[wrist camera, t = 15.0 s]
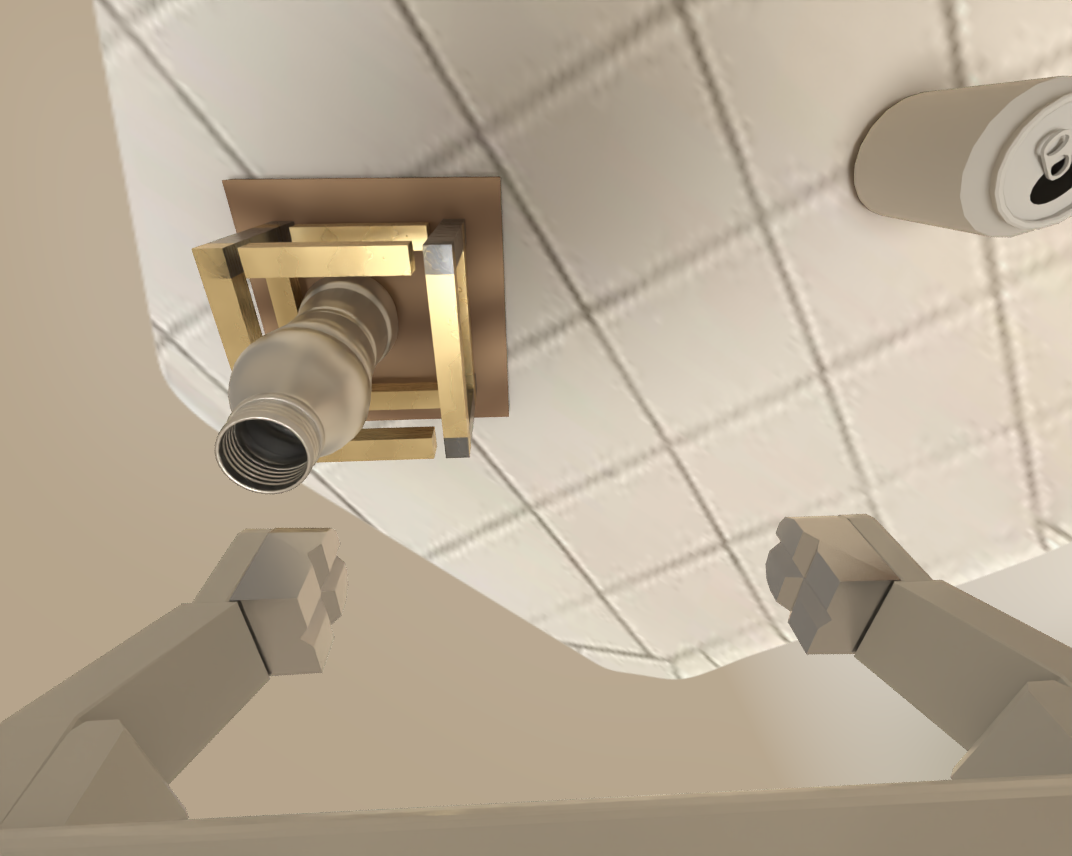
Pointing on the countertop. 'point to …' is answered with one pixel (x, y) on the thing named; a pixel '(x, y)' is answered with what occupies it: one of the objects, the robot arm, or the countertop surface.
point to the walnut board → (408, 292)
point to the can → (973, 158)
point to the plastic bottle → (306, 385)
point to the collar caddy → (358, 252)
